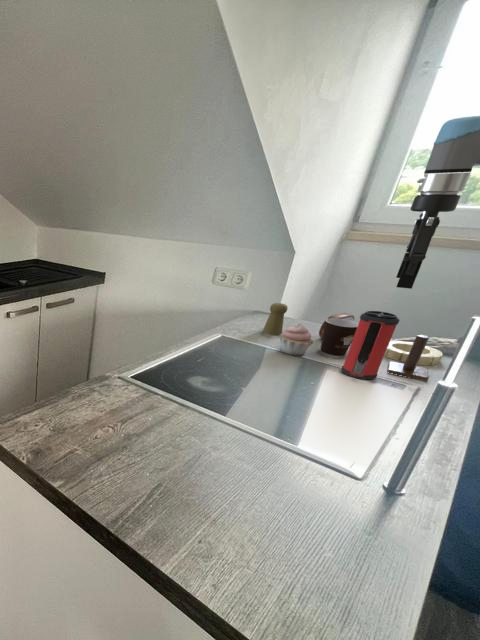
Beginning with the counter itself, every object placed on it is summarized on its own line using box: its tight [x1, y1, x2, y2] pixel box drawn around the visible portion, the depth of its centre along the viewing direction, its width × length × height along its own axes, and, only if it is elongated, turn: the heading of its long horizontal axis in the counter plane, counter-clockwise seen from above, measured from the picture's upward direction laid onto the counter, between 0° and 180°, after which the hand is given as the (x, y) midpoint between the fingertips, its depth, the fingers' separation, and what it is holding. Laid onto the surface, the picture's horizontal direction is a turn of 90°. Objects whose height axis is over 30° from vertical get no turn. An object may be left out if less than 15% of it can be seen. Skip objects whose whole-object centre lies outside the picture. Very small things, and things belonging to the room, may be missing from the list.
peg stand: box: [387, 334, 430, 383], centre depth 109 cm, size 8×8×11 cm
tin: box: [318, 312, 355, 338], centre depth 136 cm, size 15×3×8 cm, turn 114°
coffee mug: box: [319, 318, 359, 357], centre depth 123 cm, size 12×9×10 cm
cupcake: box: [278, 322, 314, 356], centre depth 125 cm, size 9×9×10 cm
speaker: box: [340, 310, 400, 381], centre depth 107 cm, size 8×8×18 cm
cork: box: [262, 302, 289, 336], centre depth 141 cm, size 6×6×11 cm
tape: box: [384, 340, 444, 366], centre depth 121 cm, size 14×14×3 cm
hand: (403, 282), depth 100 cm, fingers open, 13 cm apart
